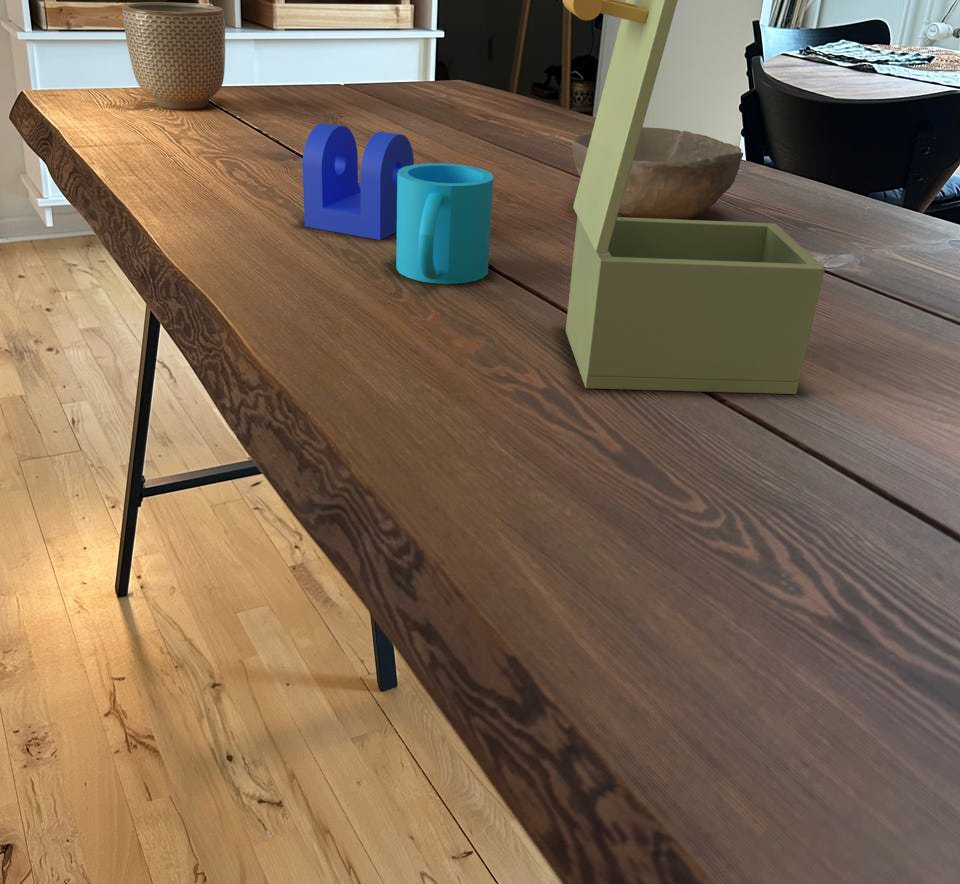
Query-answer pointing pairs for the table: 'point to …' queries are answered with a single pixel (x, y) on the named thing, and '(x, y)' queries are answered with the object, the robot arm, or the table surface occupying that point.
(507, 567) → the table surface
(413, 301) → the table surface
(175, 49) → the planter
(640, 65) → the chest lid
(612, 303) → the chest
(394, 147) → the bracket
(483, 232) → the mug
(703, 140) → the bowl
